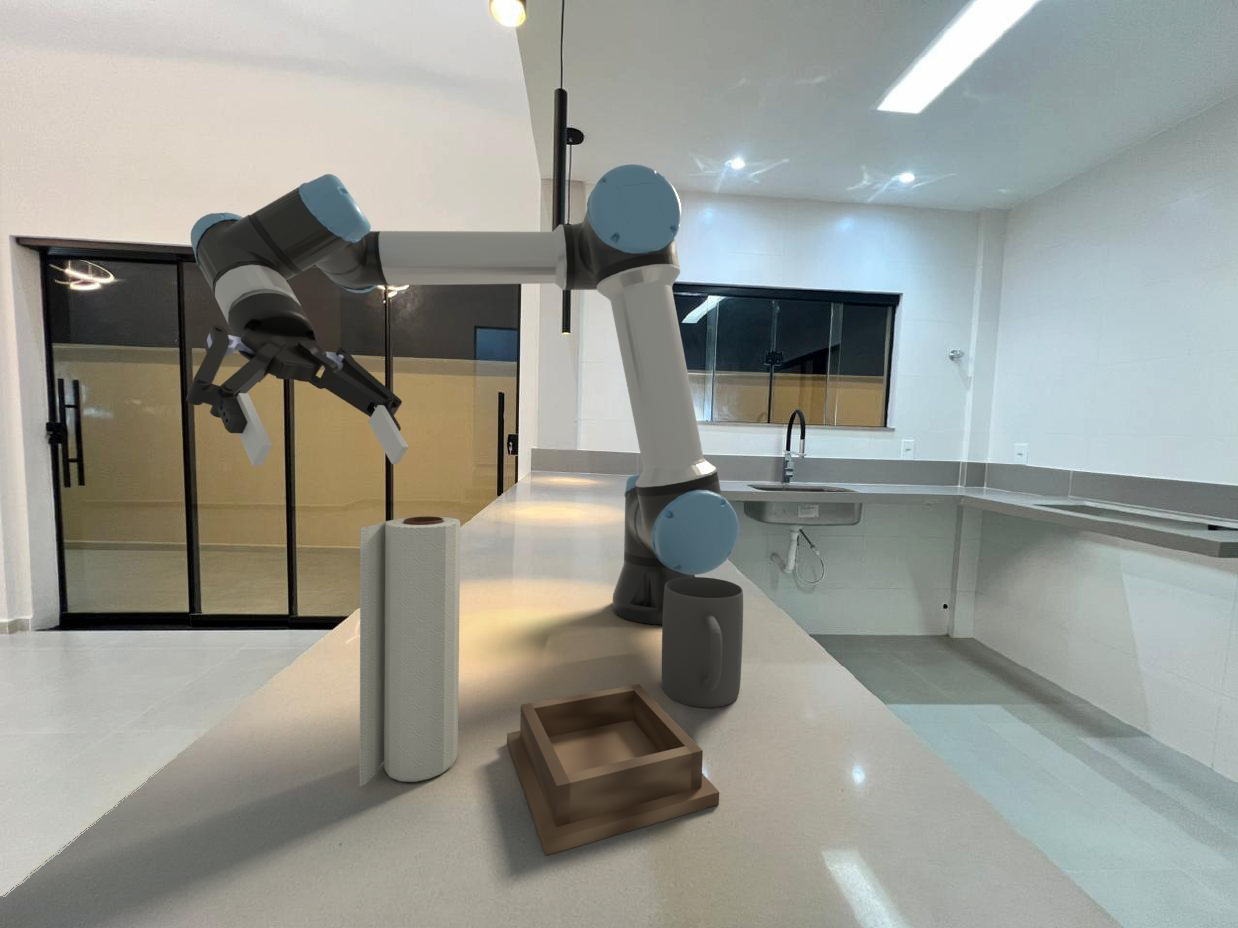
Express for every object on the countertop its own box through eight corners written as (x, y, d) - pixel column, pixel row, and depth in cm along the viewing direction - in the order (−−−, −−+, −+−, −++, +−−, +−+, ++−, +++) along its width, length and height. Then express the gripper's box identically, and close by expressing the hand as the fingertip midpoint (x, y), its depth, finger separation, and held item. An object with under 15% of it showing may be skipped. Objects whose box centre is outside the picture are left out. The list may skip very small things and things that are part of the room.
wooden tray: (642, 715, 54) (643, 678, 54) (718, 804, 41) (720, 754, 41) (507, 743, 48) (507, 701, 48) (545, 855, 35) (546, 798, 35)
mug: (657, 670, 65) (660, 575, 64) (730, 672, 65) (734, 577, 64) (668, 731, 51) (671, 611, 50) (760, 734, 51) (765, 614, 50)
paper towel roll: (462, 739, 49) (464, 514, 48) (452, 781, 43) (455, 524, 42) (380, 745, 47) (381, 514, 47) (359, 789, 42) (360, 524, 41)
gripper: (358, 359, 71) (427, 476, 63) (108, 319, 49) (168, 487, 42) (382, 316, 68) (458, 433, 60) (127, 253, 46) (195, 422, 39)
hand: (339, 456), depth 51 cm, fingers open, 13 cm apart
